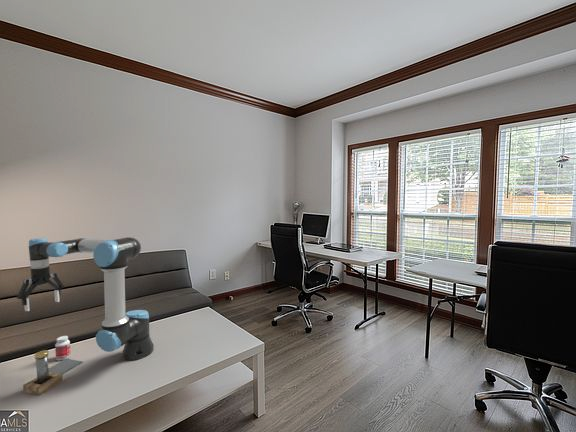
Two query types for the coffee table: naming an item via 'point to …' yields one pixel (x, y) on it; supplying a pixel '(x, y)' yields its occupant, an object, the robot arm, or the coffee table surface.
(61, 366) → the rubber mat
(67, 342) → the pill bottle
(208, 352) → the coffee table surface
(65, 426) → the coffee table surface
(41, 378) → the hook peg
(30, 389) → the block
